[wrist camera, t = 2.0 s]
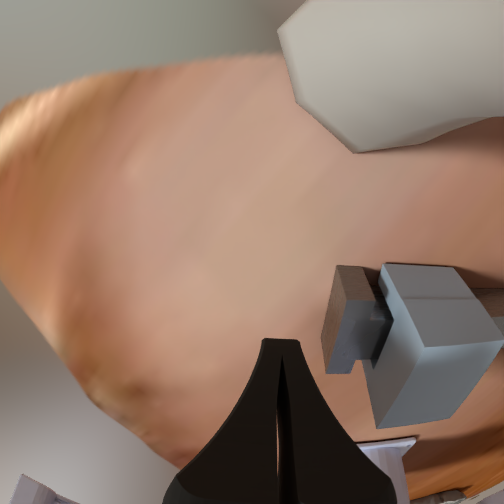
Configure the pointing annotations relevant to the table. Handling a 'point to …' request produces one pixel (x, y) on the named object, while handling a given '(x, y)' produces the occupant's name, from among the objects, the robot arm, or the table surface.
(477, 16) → the flask
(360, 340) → the rail
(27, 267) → the table surface
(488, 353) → the block
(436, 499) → the brain slice
